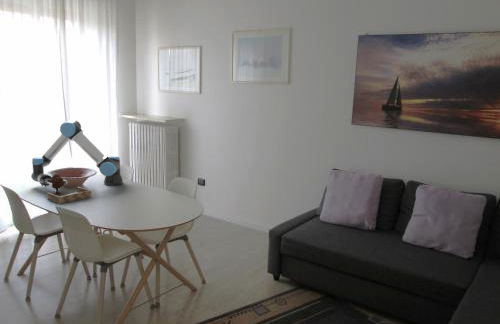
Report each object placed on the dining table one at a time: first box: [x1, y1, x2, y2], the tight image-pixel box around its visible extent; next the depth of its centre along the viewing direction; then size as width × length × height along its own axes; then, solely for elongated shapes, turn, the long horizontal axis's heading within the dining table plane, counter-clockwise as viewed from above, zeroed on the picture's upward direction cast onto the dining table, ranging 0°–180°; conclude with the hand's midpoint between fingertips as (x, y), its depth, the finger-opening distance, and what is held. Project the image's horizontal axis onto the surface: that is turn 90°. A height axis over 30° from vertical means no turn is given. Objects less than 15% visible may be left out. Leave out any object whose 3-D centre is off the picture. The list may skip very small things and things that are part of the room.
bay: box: [46, 186, 92, 205], centre depth 299 cm, size 24×17×5 cm
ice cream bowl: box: [49, 173, 65, 196], centre depth 309 cm, size 11×11×15 cm
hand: (59, 183), depth 306 cm, fingers closed on ice cream bowl, 11 cm apart
